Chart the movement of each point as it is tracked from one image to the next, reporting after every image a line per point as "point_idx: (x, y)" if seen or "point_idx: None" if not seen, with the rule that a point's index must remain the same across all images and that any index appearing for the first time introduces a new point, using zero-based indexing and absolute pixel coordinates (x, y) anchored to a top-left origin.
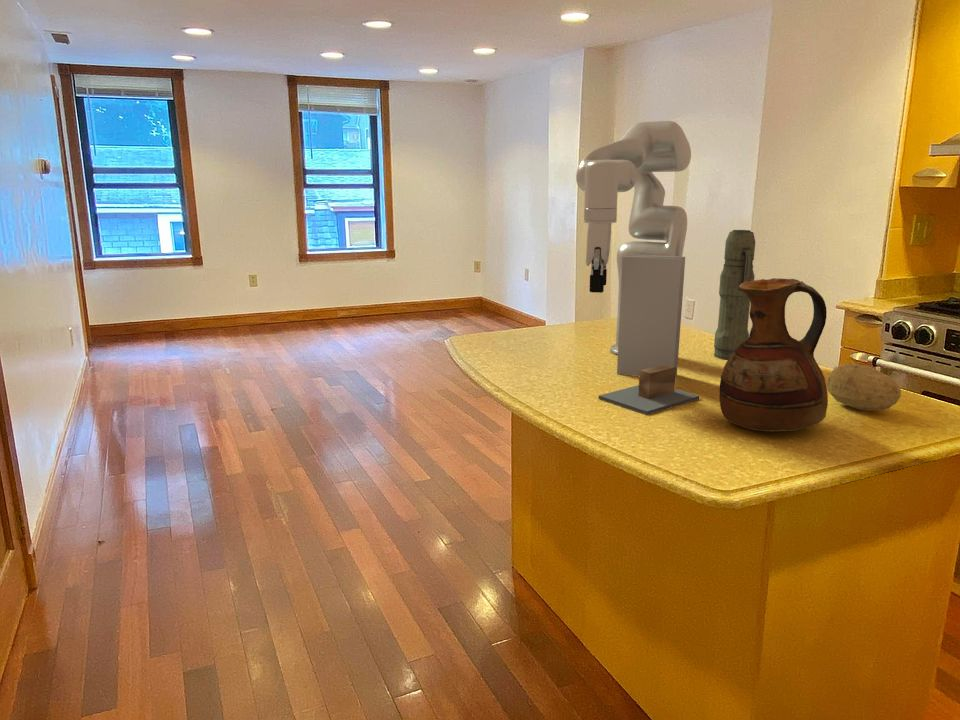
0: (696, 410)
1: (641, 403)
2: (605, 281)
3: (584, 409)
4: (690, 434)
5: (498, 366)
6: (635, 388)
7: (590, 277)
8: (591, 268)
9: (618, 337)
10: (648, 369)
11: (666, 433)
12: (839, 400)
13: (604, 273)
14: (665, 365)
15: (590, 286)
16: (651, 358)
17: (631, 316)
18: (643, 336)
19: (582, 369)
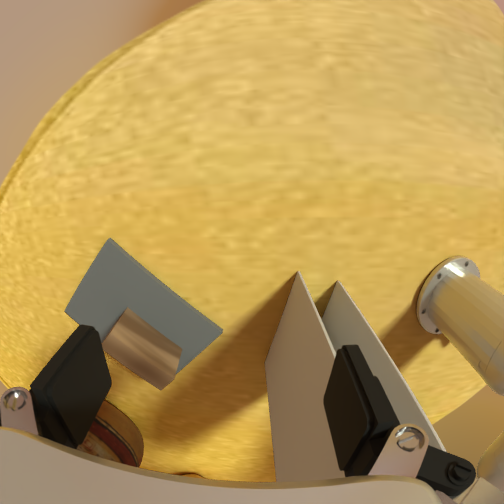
0: (112, 370)
1: (92, 308)
2: (327, 414)
3: (56, 217)
4: (35, 343)
5: (316, 12)
6: (169, 305)
7: (39, 378)
8: (3, 424)
9: (462, 282)
10: (123, 348)
11: (25, 320)
12: (186, 475)
13: (338, 448)
14: (164, 377)
15: (69, 344)
16: (280, 354)
17: (317, 380)
18: (294, 370)
19: (325, 195)
